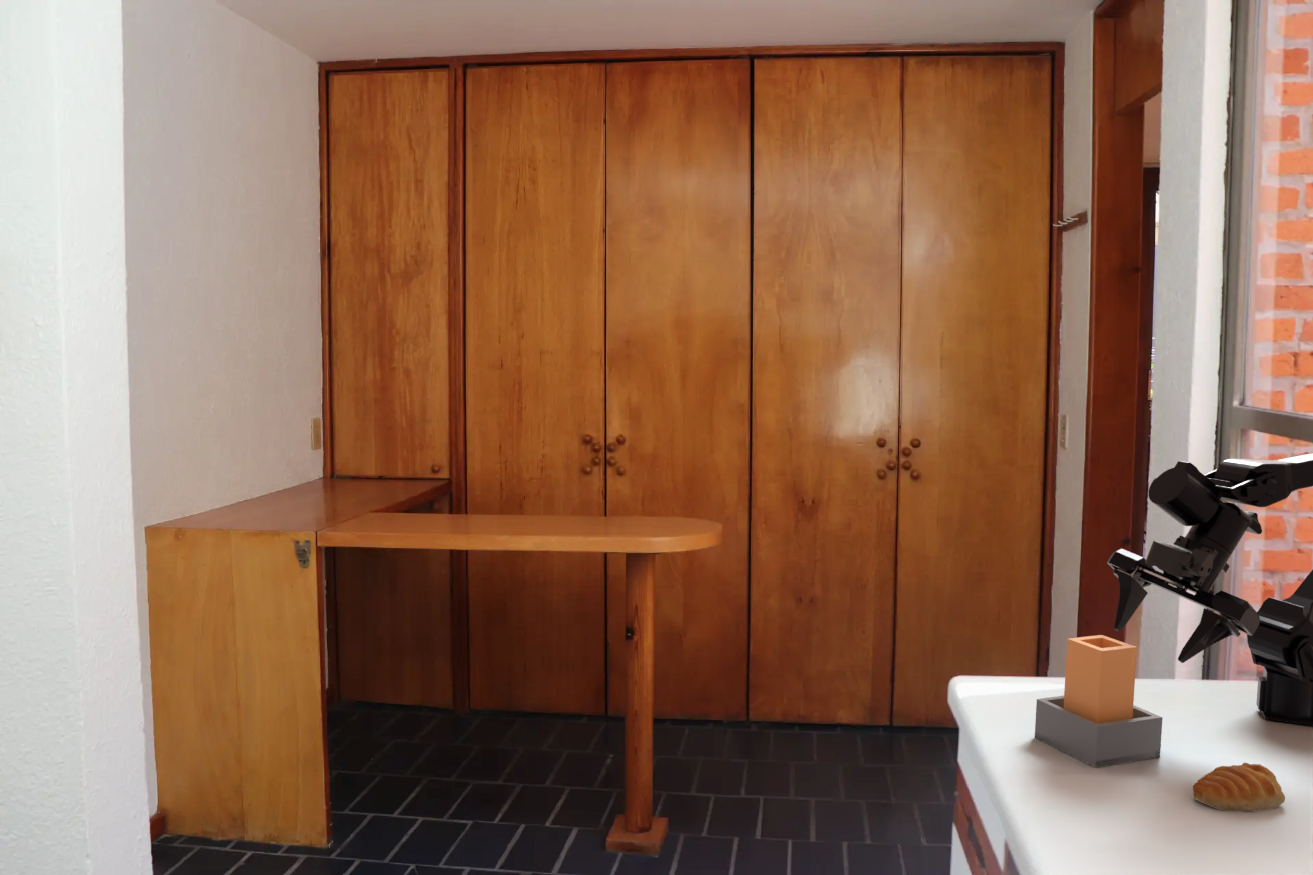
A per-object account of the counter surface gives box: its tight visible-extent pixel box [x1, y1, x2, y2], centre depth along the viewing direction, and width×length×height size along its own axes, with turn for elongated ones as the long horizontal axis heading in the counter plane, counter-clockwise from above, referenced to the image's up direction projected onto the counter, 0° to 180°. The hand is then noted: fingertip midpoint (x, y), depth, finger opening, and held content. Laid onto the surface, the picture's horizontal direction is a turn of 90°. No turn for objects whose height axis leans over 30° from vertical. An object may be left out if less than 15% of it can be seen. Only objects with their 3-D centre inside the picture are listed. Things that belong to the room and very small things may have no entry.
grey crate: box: [1034, 695, 1163, 769], centre depth 130 cm, size 10×10×5 cm
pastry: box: [1192, 762, 1286, 813], centre depth 115 cm, size 9×7×4 cm
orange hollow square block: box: [1063, 634, 1138, 724], centre depth 129 cm, size 6×6×12 cm
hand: (1147, 645), depth 136 cm, fingers open, 9 cm apart
